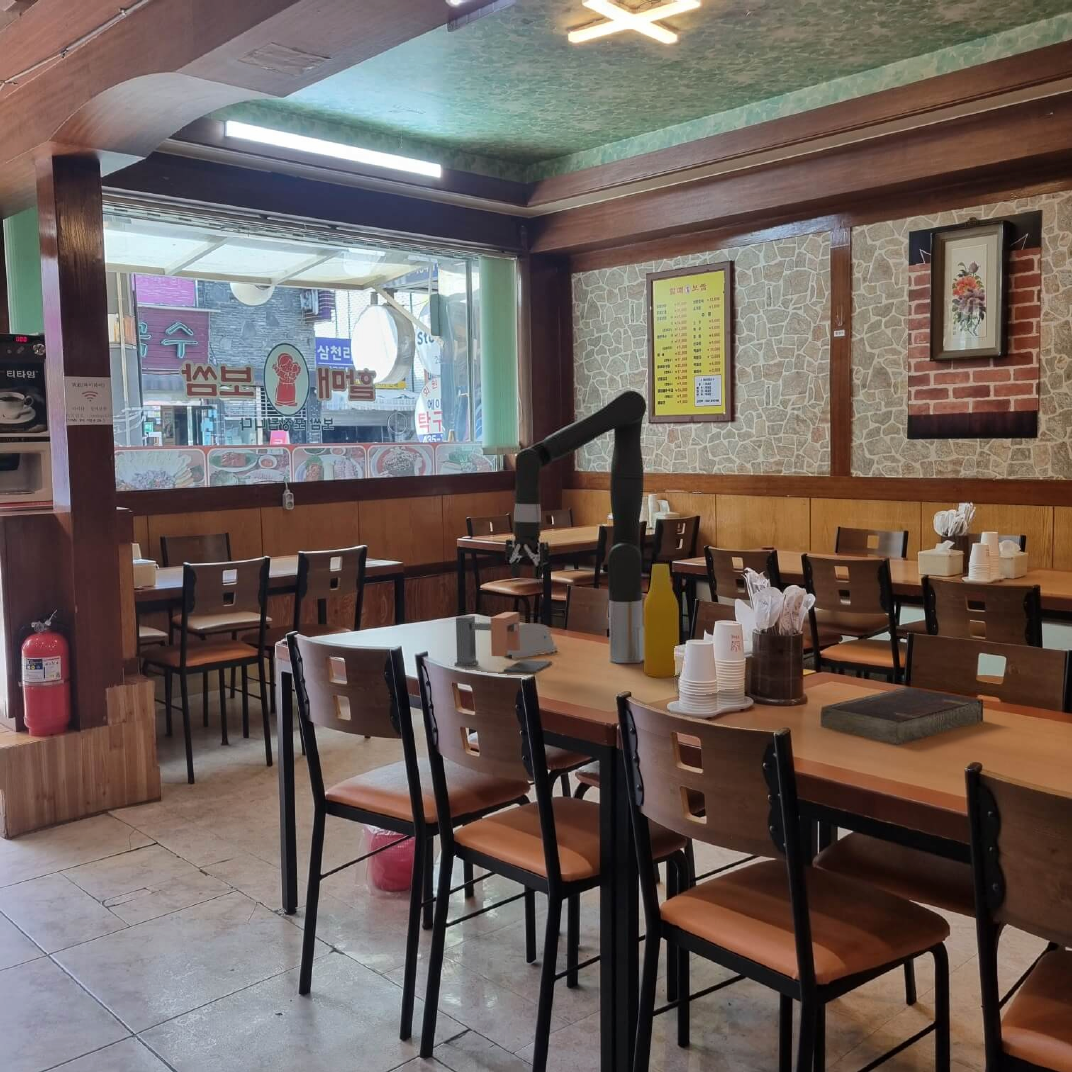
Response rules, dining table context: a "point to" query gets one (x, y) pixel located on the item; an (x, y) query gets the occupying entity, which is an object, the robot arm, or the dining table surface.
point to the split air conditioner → (533, 641)
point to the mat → (527, 666)
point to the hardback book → (902, 714)
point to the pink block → (504, 634)
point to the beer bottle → (660, 625)
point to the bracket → (470, 639)
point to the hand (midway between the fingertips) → (526, 577)
